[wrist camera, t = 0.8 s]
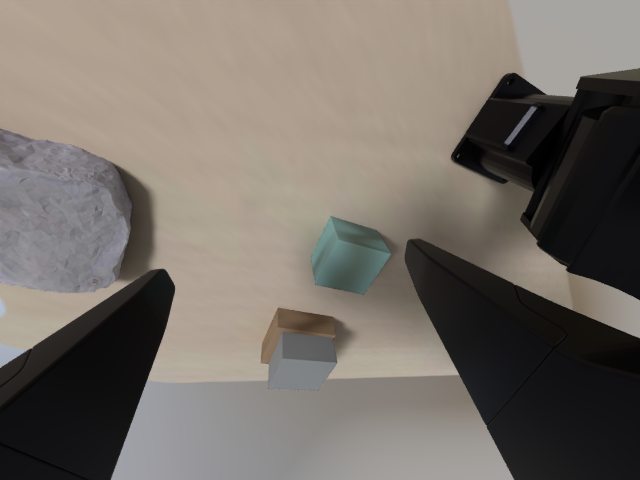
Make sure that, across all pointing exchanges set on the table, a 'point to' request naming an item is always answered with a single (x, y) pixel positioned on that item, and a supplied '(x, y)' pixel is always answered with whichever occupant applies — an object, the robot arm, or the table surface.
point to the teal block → (348, 256)
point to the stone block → (60, 216)
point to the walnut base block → (295, 328)
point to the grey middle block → (301, 362)
